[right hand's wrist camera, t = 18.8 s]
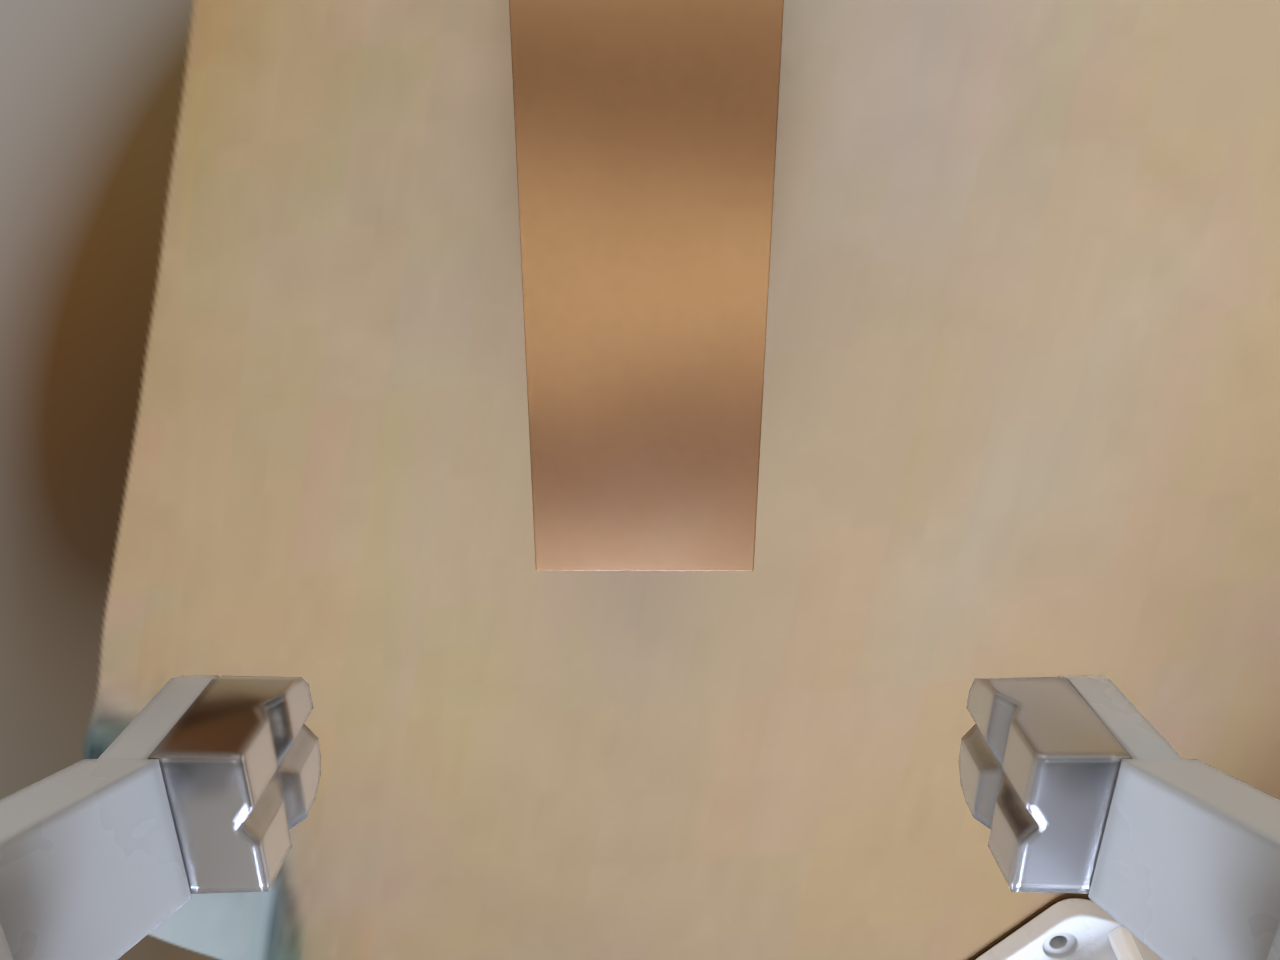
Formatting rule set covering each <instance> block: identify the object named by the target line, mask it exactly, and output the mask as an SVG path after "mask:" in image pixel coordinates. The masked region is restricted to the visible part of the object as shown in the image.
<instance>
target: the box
mask: <svg viewBox="0 0 1280 960" xmlns="http://www.w3.org/2000/svg"><path fill="white" fill-rule="evenodd" d="M783 7H784V0H509V9H510V31H511V52H512V73H513V95H514V116H515V137H516V158H517V180H518V201H519V222H520V244H521V265H522V286H523V307H524V329H525V350H526V371H527V393H528V414H529V435H530V456H531V478H532V499H533V520H534V542H535V563H536V570H537V571H753V570H754V552H755V533H756V514H757V496H758V477H759V458H760V439H761V420H762V402H763V383H764V364H765V345H766V326H767V308H768V289H769V270H770V251H771V232H772V213H773V195H774V176H775V157H776V138H777V119H778V101H779V82H780V63H781V44H782V25H783Z"/></svg>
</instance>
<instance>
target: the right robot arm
mask: <svg viewBox="0 0 1280 960" xmlns="http://www.w3.org/2000/svg"><path fill="white" fill-rule="evenodd" d="M312 709H313V703H312V698H311V693H310V688H309V684H308V683H307V682H306V681H305V680H304V679H303V678H302V677H264V676H217V675H193V676H179V677H175V678H172V679H170V680H169V681H168V682H167V684H166V685H165V686H164V687H163V688H162V689H161V690H160V691H159V692H158V693H157V694H156V696H155V697H154V698H153V699H152V700H151V701H150V702H149V703H148V704H147V705H146V706H145V708H144V709H143V710H142V711H141V712H140V713H139V714H138V715H137V716H136V717H135V719H134V720H133V721H132V722H131V723H130V724H129V725H128V726H127V727H126V728H125V729H124V731H123V732H122V733H121V734H120V735H119V736H118V737H117V738H116V739H115V740H114V741H113V743H112V744H111V745H110V746H109V747H108V748H107V749H106V750H105V751H104V752H103V753H102V755H101V756H100V757H99V758H98V759H83V760H81V761H79V762H77V763H75V764H73V765H71V766H69V767H67V768H65V769H63V770H60V771H58V772H56V773H54V774H52V775H50V776H48V777H46V778H44V779H42V780H40V781H38V782H36V783H34V784H32V785H30V786H28V787H26V788H23V789H21V790H19V791H17V792H15V793H13V794H11V795H9V796H7V797H5V798H3V799H1V800H0V960H117V959H118V958H119V957H121V956H122V955H123V954H124V953H125V952H127V951H128V950H129V949H130V948H131V947H133V946H134V945H135V944H136V943H138V942H139V941H140V940H141V939H142V938H144V937H145V936H146V935H147V934H148V933H150V932H151V931H152V930H153V929H154V928H156V927H157V926H158V925H159V924H161V923H162V922H163V921H164V920H165V919H167V918H168V917H169V916H170V915H171V914H173V913H174V912H175V911H176V910H178V909H179V908H180V907H181V906H182V905H184V904H185V903H186V902H187V901H188V900H190V899H191V897H192V896H191V894H200V893H234V892H268V891H269V890H270V888H271V886H272V884H273V882H274V880H275V878H276V876H277V874H278V872H279V870H280V868H281V866H282V864H283V862H284V860H285V858H286V857H287V855H288V853H289V851H290V849H291V847H292V844H291V838H290V833H289V829H291V828H292V827H293V826H295V825H296V824H298V823H299V822H301V821H302V820H304V819H305V818H306V817H307V815H308V813H309V811H310V809H311V807H312V805H313V803H314V800H315V798H316V793H317V789H318V784H319V780H320V775H321V753H320V746H319V739H318V737H317V736H316V735H315V734H314V733H313V732H312V731H311V730H310V729H309V728H308V727H307V726H306V725H305V724H304V723H305V721H306V719H307V718H308V716H309V714H310V712H311V711H312ZM967 709H968V711H969V712H970V714H971V716H972V718H973V719H974V721H975V723H976V724H975V725H974V726H973V727H972V728H971V729H970V730H969V731H968V732H967V733H966V734H965V735H964V736H963V737H962V740H961V748H960V756H959V769H960V780H961V787H962V790H963V793H964V797H965V800H966V803H967V805H968V807H969V809H970V811H971V813H972V815H973V817H974V818H975V819H976V820H978V821H979V822H981V823H982V824H984V825H985V826H987V827H988V828H989V829H991V833H990V839H989V844H988V847H989V849H990V851H991V853H992V855H993V856H994V858H995V860H996V862H997V864H998V866H999V868H1000V870H1001V872H1002V874H1003V876H1004V878H1005V880H1006V882H1007V884H1008V885H1009V887H1010V889H1011V891H1012V892H1044V893H1080V894H1089V895H1088V898H1090V899H1091V900H1092V901H1091V900H1087V899H1080V898H1071V899H1065V900H1062V901H1060V902H1057V903H1056V904H1054V905H1052V906H1051V907H1049V908H1048V909H1047V910H1045V911H1044V912H1042V913H1041V914H1039V915H1038V916H1037V917H1035V918H1034V919H1032V920H1031V921H1029V922H1028V923H1027V924H1025V925H1024V926H1022V927H1021V928H1019V929H1018V930H1017V931H1015V932H1014V933H1012V934H1011V935H1009V936H1008V937H1007V938H1005V939H1004V940H1002V941H1001V942H999V943H998V944H997V945H995V946H994V947H992V948H991V949H989V950H988V951H987V952H985V953H984V954H982V955H981V956H979V957H978V958H977V959H975V960H1280V800H1279V799H1277V798H1275V797H1273V796H1271V795H1269V794H1267V793H1265V792H1263V791H1261V790H1258V789H1256V788H1254V787H1252V786H1250V785H1248V784H1246V783H1244V782H1242V781H1240V780H1238V779H1236V778H1234V777H1232V776H1230V775H1228V774H1226V773H1224V772H1222V771H1219V770H1217V769H1215V768H1213V767H1211V766H1209V765H1207V764H1205V763H1203V762H1201V761H1199V760H1197V759H1182V758H1181V757H1180V756H1179V755H1178V754H1177V752H1176V751H1175V750H1174V749H1173V748H1172V747H1171V746H1170V745H1169V744H1168V743H1167V741H1166V740H1165V739H1164V738H1163V737H1162V736H1161V735H1160V734H1159V733H1158V732H1157V731H1156V729H1155V728H1154V727H1153V726H1152V725H1151V724H1150V723H1149V722H1148V721H1147V720H1146V718H1145V717H1144V716H1143V715H1142V714H1141V713H1140V712H1139V711H1138V710H1137V709H1136V708H1135V706H1134V705H1133V704H1132V703H1131V702H1130V701H1129V700H1128V699H1127V698H1126V697H1125V696H1124V694H1123V693H1122V692H1121V691H1120V690H1119V689H1118V688H1117V687H1116V686H1115V685H1114V683H1113V682H1112V681H1111V680H1110V679H1108V678H1105V677H1103V676H1101V675H1080V676H1058V677H1027V678H977V679H975V680H974V682H973V684H972V686H971V688H970V691H969V697H968V703H967Z"/></svg>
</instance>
